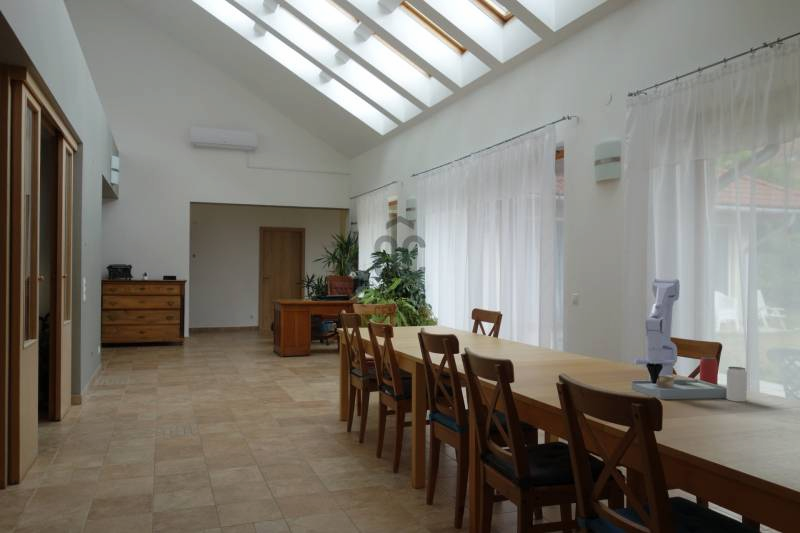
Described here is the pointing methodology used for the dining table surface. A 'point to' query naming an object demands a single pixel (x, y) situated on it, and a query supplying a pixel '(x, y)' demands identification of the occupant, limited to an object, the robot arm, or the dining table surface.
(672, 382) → the block
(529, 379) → the dining table surface
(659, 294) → the robot arm
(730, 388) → the can
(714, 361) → the beer can
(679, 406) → the dining table surface
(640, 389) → the trap box
